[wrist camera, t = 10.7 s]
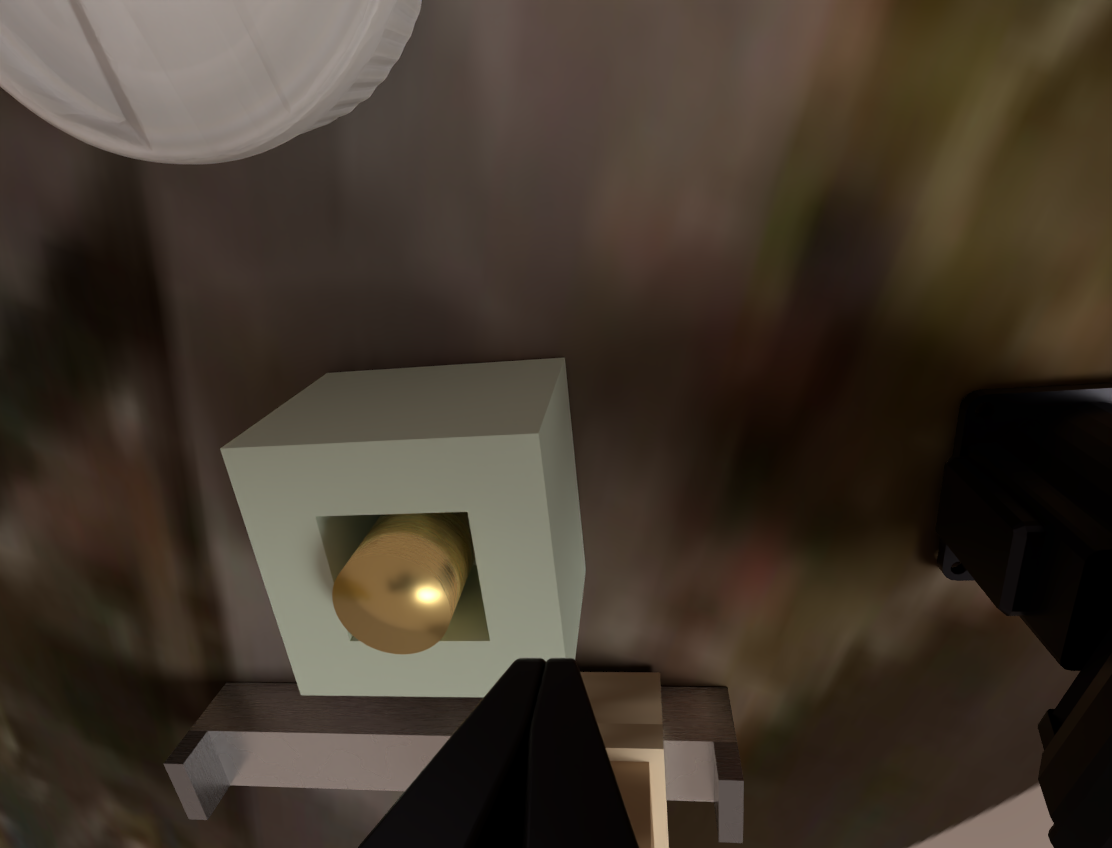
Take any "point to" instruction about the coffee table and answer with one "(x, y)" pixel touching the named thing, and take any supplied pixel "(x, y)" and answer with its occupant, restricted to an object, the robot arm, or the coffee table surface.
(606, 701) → the carriage
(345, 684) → the cabinet
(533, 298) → the coffee table surface
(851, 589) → the coffee table surface
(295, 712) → the rail
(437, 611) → the button
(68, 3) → the ramekin
